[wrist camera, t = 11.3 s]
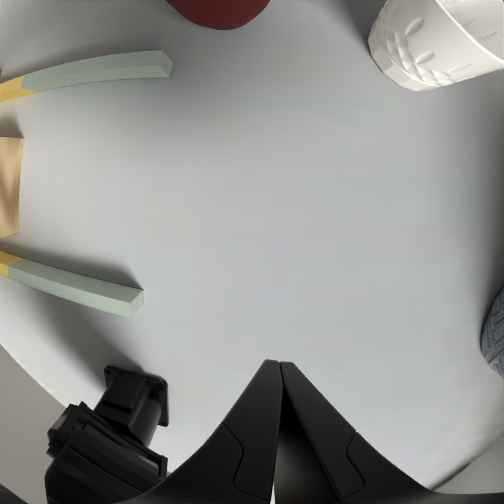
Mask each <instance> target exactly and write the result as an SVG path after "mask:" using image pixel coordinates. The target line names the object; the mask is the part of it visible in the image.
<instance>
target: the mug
mask: <svg viewBox="0 0 504 504" xmlns="http://www.w3.org/2000/svg"><path fill="white" fill-rule="evenodd" d="M166 1H167V2H168V3H169V4H170V5H171V6H172V7H174V8H175V9H176V10H177V11H178V12H179V13H180V14H181V15H182V16H184V17H185V18H187V19H188V20H190V21H192V22H194V23H196V24H199V25H202V26H205V27H209V28H213V29H218V30H229V29H234V28H238V27H240V26H243V25H244V24H246V23H248V22H249V21H250V20H252V19H253V18H255V17H256V16H257V15H258V14H259V13H260V12H262V11H263V9H264V8H265V7H266V6H267V4H268V3H269V1H270V0H166Z"/></svg>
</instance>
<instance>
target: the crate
mask: <svg viewBox="0 0 504 504" xmlns="http://www.w3.org/2000/svg"><path fill="white" fill-rule="evenodd" d="M23 143H24V138H9V137H0V238H3V237H7V236H10V235H13V234H16V233H19V185H20V170H21V159H22V150H23Z"/></svg>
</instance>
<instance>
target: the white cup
mask: <svg viewBox="0 0 504 504" xmlns="http://www.w3.org/2000/svg"><path fill="white" fill-rule="evenodd" d="M368 44H369V48H370V52H371V56H372V58H373V59H374V60H375V62H376V63H377V65H378V66H379V68H380V69H381V70H382V72H383V73H384V74H385V75H387V76H388V77H389V78H390V79H392V80H393V81H394V82H395V83H397V84H398V85H399V86H402V87H405V88H408V89H410V90H413V91H415V92H417V91H427V90H432V89H435V88H437V87H440V86H445V85H449V84H453V83H456V82H459V81H463V80H467V79H470V78H473V77H476V76H480V75H483V74H486V73H490V72H493V71H497V70H500V69H504V2H503V1H502V0H387V1H386V3H385V4H384V6H383V7H382V9H381V11H380V13H379V15H378V18H377V19H376V21H375V23H374V24H373V26H372V27H371V30H370V34H369V37H368Z"/></svg>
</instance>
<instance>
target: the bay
mask: <svg viewBox="0 0 504 504" xmlns="http://www.w3.org/2000/svg"><path fill="white" fill-rule="evenodd" d="M172 67H173V62H172V61H171V60H170V58H169V57H168V56H167V55H166V53H165V52H164V51H163V50H153V51H139V52H129V53H120V54H113V55H106V56H99V57H94V58H88V59H83V60H78V61H73V62H69V63H65V64H61V65H57V66H53V67H49V68H45V69H42V70H39V71H35V72H32V73H29V74H26V75H23V76H20V77H17V78H14V79H12V80H9V81H6V82H4V83H1V84H0V102H3V101H6V100H10V99H13V98H17V97H20V96H24V95H28V94H32V93H36V92H40V91H45V90H49V89H54V88H59V87H65V86H70V85H76V84H83V83H90V82H98V81H107V80H118V79H131V78H155V77H170V75H171V71H172ZM0 275H3V276H5V277H8V278H10V279H13V280H15V281H18V282H20V283H23V284H25V285H28V286H30V287H33V288H36V289H39V290H41V291H44V292H47V293H50V294H53V295H55V296H58V297H61V298H64V299H67V300H70V301H73V302H77V303H80V304H83V305H86V306H89V307H93V308H96V309H99V310H103V311H106V312H110V313H113V314H117V315H121V316H124V317H128V318H131V317H132V316H133V315H134V314H135V312H136V311H137V310H138V309H139V308H140V307H141V306H142V305H143V290H141V289H136V288H132V287H127V286H123V285H119V284H115V283H111V282H107V281H103V280H99V279H95V278H91V277H87V276H83V275H79V274H76V273H72V272H68V271H65V270H61V269H57V268H54V267H50V266H47V265H44V264H40V263H37V262H33V261H30V260H27V259H24V258H20V257H17V256H14V255H11V254H8V253H5V252H2V251H0Z"/></svg>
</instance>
